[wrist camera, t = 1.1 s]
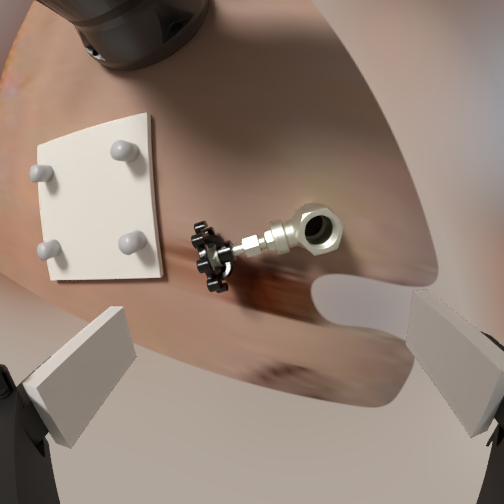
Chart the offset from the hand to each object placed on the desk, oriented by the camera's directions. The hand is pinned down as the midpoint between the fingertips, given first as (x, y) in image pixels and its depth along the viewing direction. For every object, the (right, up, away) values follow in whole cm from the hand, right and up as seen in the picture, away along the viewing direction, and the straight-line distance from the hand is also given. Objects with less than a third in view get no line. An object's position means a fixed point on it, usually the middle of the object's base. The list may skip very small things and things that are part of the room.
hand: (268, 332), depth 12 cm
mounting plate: (-19, +9, +17) cm, 26 cm away
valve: (+1, +5, +17) cm, 17 cm away
